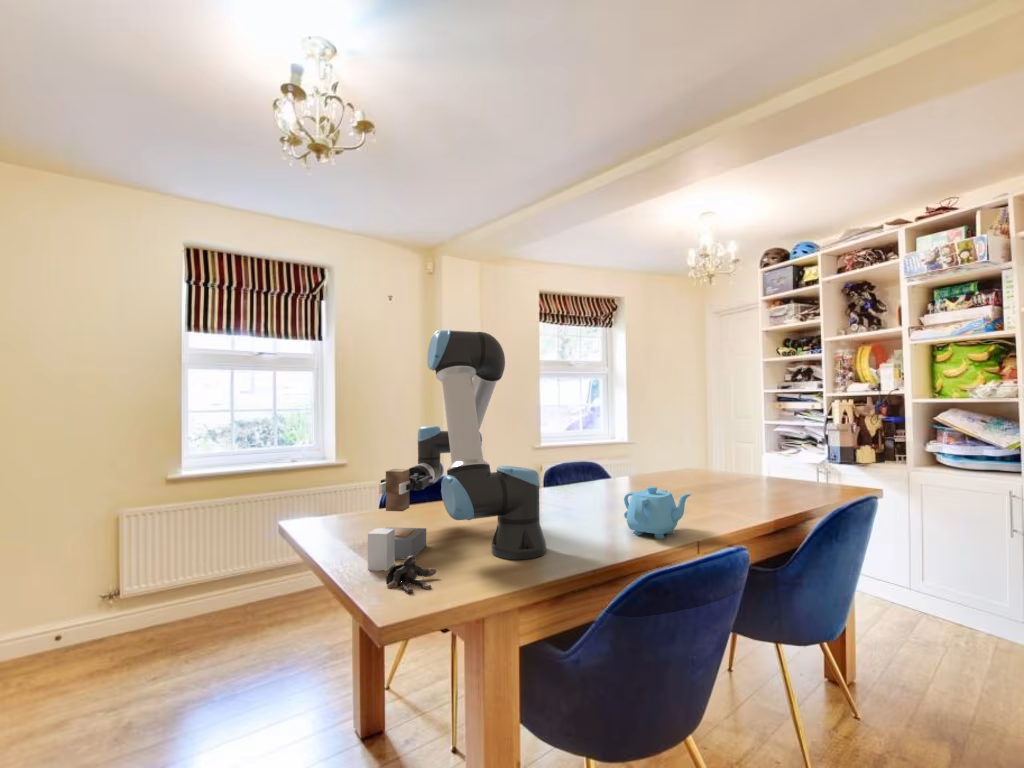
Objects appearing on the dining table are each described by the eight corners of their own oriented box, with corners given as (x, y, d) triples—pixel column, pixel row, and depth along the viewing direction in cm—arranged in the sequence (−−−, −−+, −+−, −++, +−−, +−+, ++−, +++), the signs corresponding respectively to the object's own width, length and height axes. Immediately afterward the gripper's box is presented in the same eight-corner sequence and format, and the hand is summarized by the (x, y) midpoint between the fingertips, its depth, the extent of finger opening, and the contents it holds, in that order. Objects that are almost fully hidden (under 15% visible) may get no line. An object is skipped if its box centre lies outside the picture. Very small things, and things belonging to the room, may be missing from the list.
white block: (394, 564, 127) (394, 528, 128) (386, 570, 122) (386, 534, 123) (376, 563, 128) (376, 528, 128) (367, 569, 123) (367, 533, 123)
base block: (426, 545, 143) (426, 527, 143) (411, 558, 131) (411, 538, 131) (386, 544, 145) (386, 526, 145) (368, 557, 133) (368, 537, 133)
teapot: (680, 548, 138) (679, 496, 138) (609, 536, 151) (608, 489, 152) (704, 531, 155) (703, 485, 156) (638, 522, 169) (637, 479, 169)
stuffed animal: (392, 593, 106) (383, 548, 115) (388, 621, 110) (379, 576, 120) (445, 583, 111) (432, 541, 120) (439, 610, 115) (427, 568, 125)
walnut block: (409, 507, 142) (409, 469, 143) (402, 511, 137) (402, 471, 138) (392, 507, 143) (392, 468, 143) (385, 511, 138) (385, 471, 139)
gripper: (446, 489, 157) (422, 503, 134) (392, 488, 159) (359, 502, 136) (446, 465, 157) (421, 475, 134) (392, 464, 160) (359, 475, 137)
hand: (390, 489), depth 135 cm, fingers closed on walnut block, 5 cm apart
